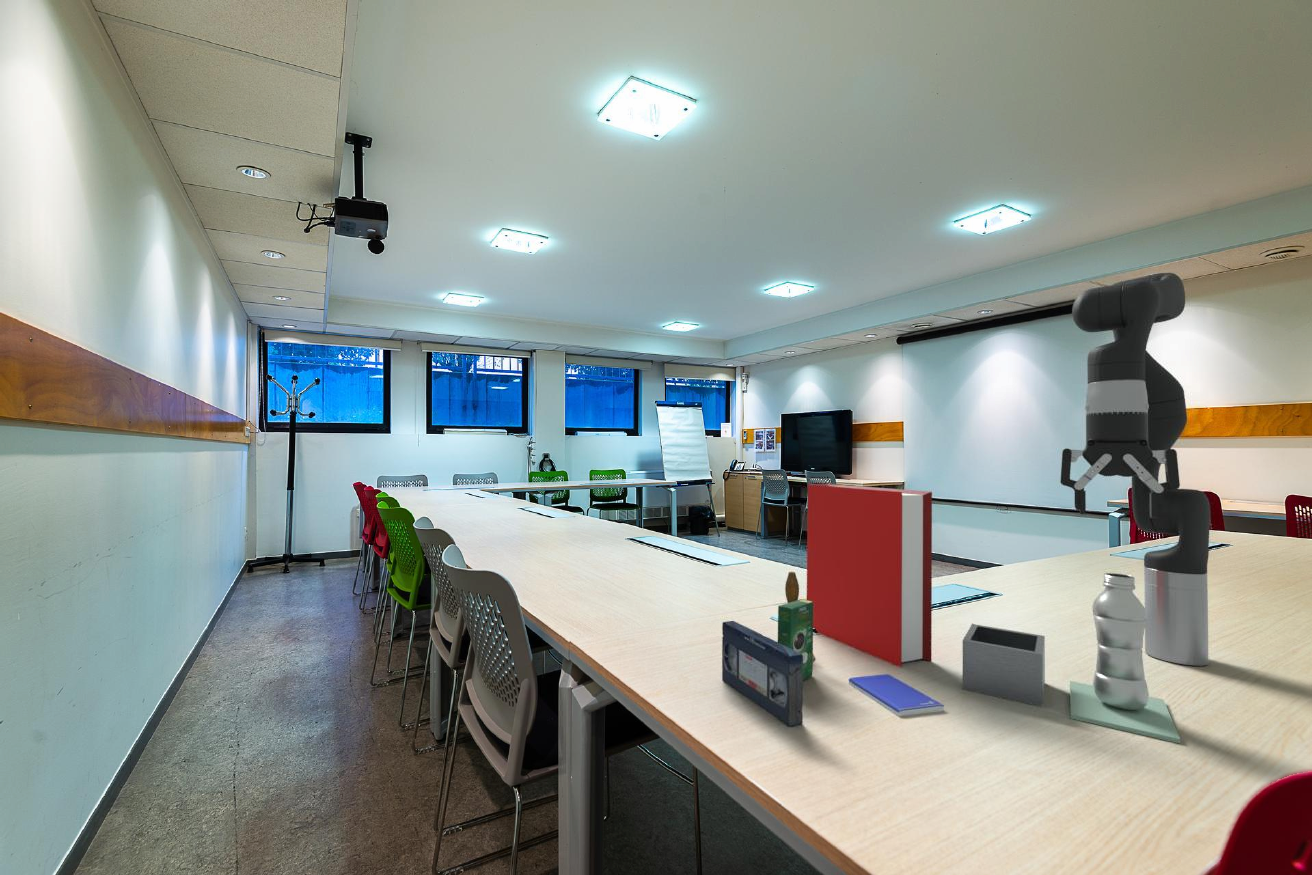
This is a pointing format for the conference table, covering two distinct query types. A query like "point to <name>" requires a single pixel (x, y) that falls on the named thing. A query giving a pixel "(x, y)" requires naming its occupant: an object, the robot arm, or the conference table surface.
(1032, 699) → the sleeve
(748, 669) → the vhs cassette tape
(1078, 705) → the mat
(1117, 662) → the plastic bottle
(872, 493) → the book
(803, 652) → the coffee box
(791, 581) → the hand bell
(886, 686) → the hard drive
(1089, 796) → the conference table surface
